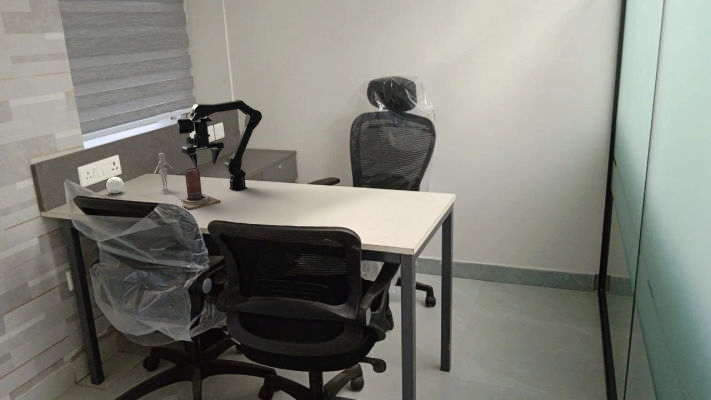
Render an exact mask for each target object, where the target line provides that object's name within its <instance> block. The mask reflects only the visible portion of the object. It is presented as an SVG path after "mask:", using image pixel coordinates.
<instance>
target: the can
mask: <svg viewBox="0 0 711 400" xmlns="http://www.w3.org/2000/svg"><path fill="white" fill-rule="evenodd" d="M184 175H185V176H184V177H185V185H186V193H187V197H188V200H189V201H199V200H202V194H203V193H202V192H203V191H202V182H201V172H200V170H199V168H198V167H197V168H195V167H194V168H187V169H185V171H184Z"/></svg>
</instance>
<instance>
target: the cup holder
mask: <svg viewBox="0 0 711 400" xmlns="http://www.w3.org/2000/svg"><path fill="white" fill-rule="evenodd" d="M179 200H181V202H182V203H183V206H184V207H185V208H184V207H183V208H184V209H186V208H187V209H186V210H189V211H190V210H194V209H199V208H202V207H208V206H211V205H214V204H220V203H221V199H217V198H215V197H213V196H210V195H207V194H204V193H202V200H199V201H189V200H188V196H185V197H184V198H180V199H179Z"/></svg>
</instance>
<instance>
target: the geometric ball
mask: <svg viewBox="0 0 711 400" xmlns="http://www.w3.org/2000/svg"><path fill="white" fill-rule="evenodd" d="M105 183H106V184H105V187H106V189H107V190H108V191H109V193H112V194H118V193H121V192H122V191H123V190H124V188H125V182H124V181H123V179H122V178H121V177H119V176H118V177H117V176H112V177H109V178H108V180H107V181H106V182H105Z"/></svg>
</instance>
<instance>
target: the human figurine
mask: <svg viewBox="0 0 711 400" xmlns="http://www.w3.org/2000/svg"><path fill="white" fill-rule="evenodd" d="M157 156H158V158H159V161H158V164H157V166H156V167H155V171H153V175H156V173H157V170H158V169H159V172H158V175H159V176H160V178H161V182H162V191H163V192H165V191H168V189H169V188H168V180H167V178H168V168H166V167H165V165H167V166H169V167H170V168H171V169H174V167H173V166H171V164H169V163H168V162H167V160H166V154H165V152H160V153H158V155H157Z"/></svg>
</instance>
